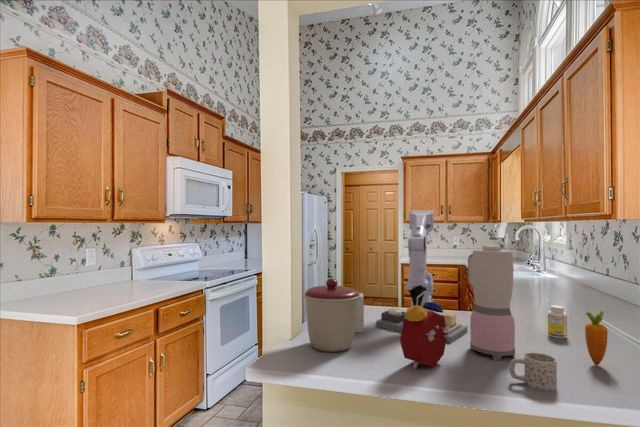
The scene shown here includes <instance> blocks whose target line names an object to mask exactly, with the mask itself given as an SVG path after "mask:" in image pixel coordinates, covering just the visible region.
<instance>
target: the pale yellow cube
mask: <svg viewBox="0 0 640 427" xmlns="http://www.w3.org/2000/svg"><path fill="white" fill-rule="evenodd" d="M440 315H441V316H444V319H445V324H446V326H449V325H450V327H451V328H452V327H454V326H455V325H456V324H457V314H456V313H450V312H443V313H441V314H440Z"/></svg>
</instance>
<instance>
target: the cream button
mask: <svg viewBox="0 0 640 427" xmlns="http://www.w3.org/2000/svg"><path fill="white" fill-rule="evenodd" d="M387 311H388V314H393V315H401V314H402V312H403V310H402V309H401V308H388V310H387Z"/></svg>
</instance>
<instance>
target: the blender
mask: <svg viewBox="0 0 640 427" xmlns="http://www.w3.org/2000/svg"><path fill="white" fill-rule="evenodd" d="M513 259H514V258H513V252H512V251H511V250H507V249H506V250H505V249H503V248H502V246H501V245H482V248H480V249H479V248H476V249H473V250H472V254H470V255H469V256H468V258H467V281H468V283H469V284H470V285H471V286H472V292H473V298H474V307H473V310H472V311H471V314H470V322H469V323H470V327H469V328H470V329H469V330H470V335H469V336H470V341H469V342H470V344H469V346H470V350H474V351H476V352H478V353H482V354H485V355H491V356H492V359H493V360H497V361H500V360H502V357H507V356H510V357H511V358H513V359H515V357H516V346H515V344H516V337H515V336H516V322H515V317H514V316H513V314H512V311H511V309H510V308H511V300H512V294H513V288H514V260H513Z"/></svg>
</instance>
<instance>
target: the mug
mask: <svg viewBox="0 0 640 427" xmlns="http://www.w3.org/2000/svg"><path fill="white" fill-rule="evenodd" d="M517 364H521V365H524V374H516V371H515V370H516V369H515V366H516V365H517ZM557 365H558V364H557V358H555V357H554V356H552V355H550V354H546V353H541V352H526V353H524V358H523V357H521V358H513V359H511V360H510V363H509V372H510V373H509V374H510V376H511V378H512V379H515V380H518V381H522V382H524V384H525V385H526V386H528V387H530V388H531V387H532V389H534V390H537V391H540V392H541V391H543V392H555V391H557V388H558V387H557V386H558V384H557V382H558V378H557V376H558V375H557V374H558V373H557V370H558V368H557Z"/></svg>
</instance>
